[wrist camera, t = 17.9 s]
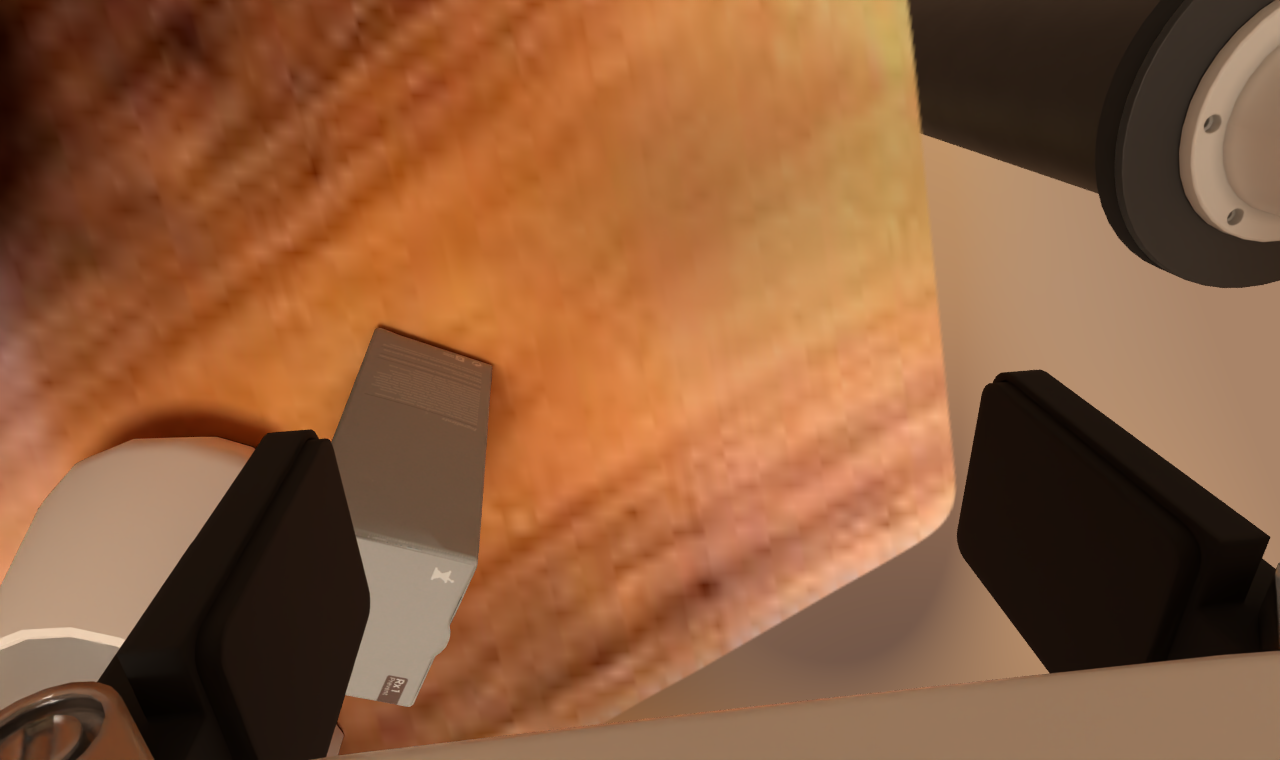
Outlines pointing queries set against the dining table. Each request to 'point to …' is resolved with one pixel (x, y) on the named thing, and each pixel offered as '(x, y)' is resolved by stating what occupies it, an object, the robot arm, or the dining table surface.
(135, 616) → the white vase
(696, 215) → the dining table surface
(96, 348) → the dining table surface
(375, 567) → the cosmetic box
